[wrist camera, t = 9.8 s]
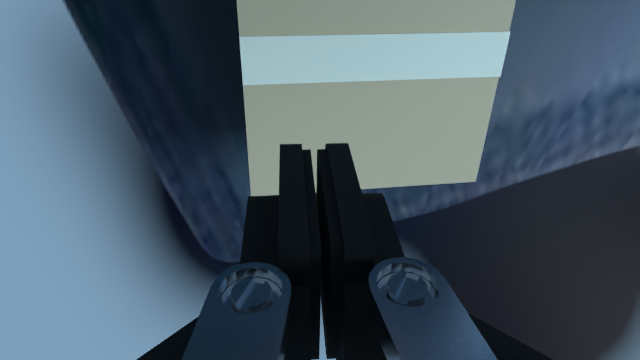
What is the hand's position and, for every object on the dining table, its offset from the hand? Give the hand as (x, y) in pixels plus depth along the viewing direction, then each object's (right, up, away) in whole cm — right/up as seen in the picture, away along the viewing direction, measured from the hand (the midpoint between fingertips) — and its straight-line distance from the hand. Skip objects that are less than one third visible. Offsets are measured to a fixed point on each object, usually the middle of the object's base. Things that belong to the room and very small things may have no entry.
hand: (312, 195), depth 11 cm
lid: (+3, +7, +13) cm, 15 cm away
